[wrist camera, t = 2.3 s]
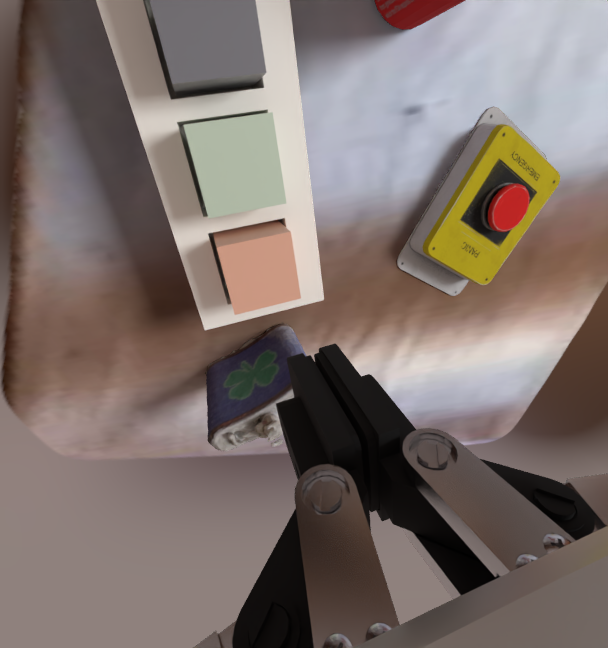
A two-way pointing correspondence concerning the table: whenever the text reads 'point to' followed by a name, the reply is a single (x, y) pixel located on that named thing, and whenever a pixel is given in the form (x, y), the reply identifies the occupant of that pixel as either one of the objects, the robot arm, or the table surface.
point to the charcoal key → (210, 43)
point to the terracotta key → (258, 265)
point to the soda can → (412, 11)
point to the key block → (176, 160)
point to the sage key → (237, 163)
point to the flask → (250, 389)
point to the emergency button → (480, 207)
